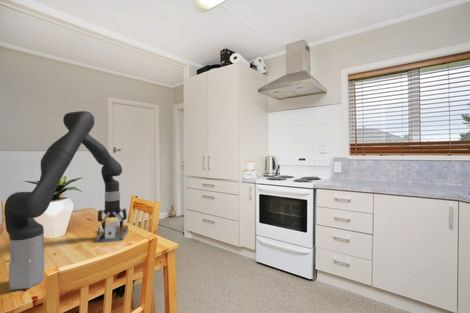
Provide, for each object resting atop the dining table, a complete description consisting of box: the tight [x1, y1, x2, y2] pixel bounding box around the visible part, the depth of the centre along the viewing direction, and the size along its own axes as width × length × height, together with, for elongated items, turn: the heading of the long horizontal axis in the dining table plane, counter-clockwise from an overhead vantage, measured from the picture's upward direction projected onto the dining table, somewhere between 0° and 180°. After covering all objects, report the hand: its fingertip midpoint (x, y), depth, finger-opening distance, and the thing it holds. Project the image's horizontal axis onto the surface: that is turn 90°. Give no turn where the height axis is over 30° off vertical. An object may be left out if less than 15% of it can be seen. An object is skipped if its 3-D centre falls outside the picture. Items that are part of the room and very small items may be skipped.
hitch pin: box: [97, 226, 104, 235], centre depth 134 cm, size 7×3×3 cm, turn 33°
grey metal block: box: [105, 220, 120, 240], centre depth 127 cm, size 10×5×7 cm, turn 13°
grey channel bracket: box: [94, 224, 129, 244], centre depth 127 cm, size 14×13×4 cm
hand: (112, 228), depth 127 cm, fingers open, 8 cm apart
